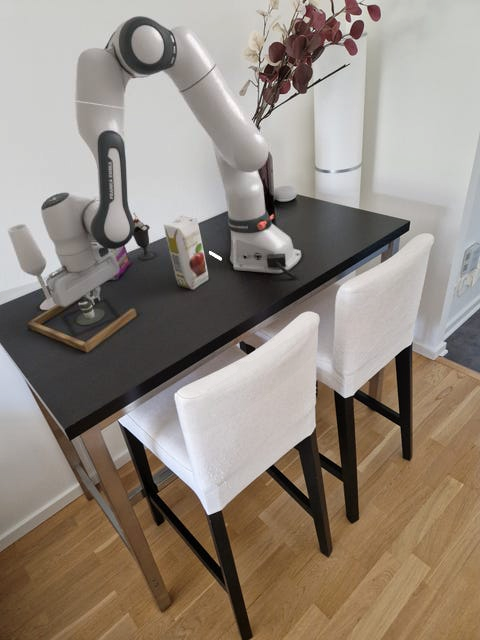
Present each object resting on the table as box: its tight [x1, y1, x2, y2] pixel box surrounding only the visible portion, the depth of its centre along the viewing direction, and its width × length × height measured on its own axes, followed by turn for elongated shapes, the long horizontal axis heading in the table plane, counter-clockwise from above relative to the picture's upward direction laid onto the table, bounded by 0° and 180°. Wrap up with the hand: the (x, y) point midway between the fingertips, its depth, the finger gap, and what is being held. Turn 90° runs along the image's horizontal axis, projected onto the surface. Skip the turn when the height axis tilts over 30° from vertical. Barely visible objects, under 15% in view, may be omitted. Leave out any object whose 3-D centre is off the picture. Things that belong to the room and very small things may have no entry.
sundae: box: [132, 212, 155, 261], centre depth 141 cm, size 7×7×15 cm
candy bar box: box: [91, 238, 131, 281], centre depth 134 cm, size 11×5×16 cm, turn 168°
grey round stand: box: [76, 299, 106, 326], centre depth 116 cm, size 12×12×5 cm
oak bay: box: [26, 296, 138, 354], centre depth 115 cm, size 24×17×2 cm
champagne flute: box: [7, 223, 56, 311], centre depth 120 cm, size 7×7×24 cm
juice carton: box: [163, 215, 209, 290], centre depth 121 cm, size 8×9×19 cm
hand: (95, 302), depth 118 cm, fingers closed
